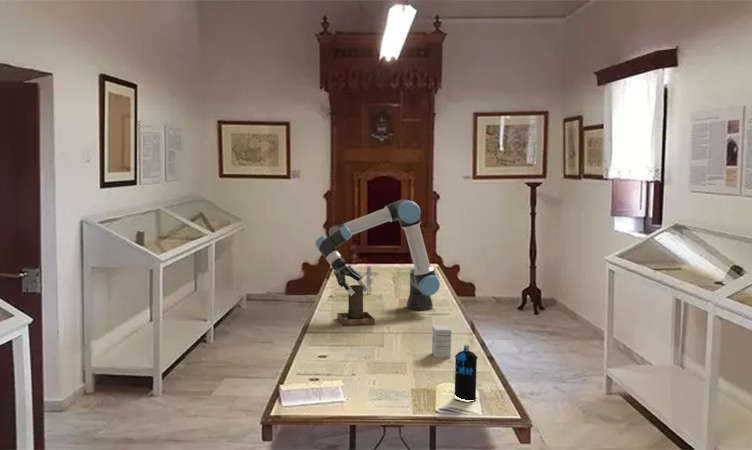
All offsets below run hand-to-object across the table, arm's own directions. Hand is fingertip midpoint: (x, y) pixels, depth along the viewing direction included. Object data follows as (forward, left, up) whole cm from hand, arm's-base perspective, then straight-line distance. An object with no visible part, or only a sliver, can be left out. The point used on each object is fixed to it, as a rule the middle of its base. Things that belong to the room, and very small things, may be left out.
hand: (359, 292), depth 379 cm
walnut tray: (+2, -2, -16) cm, 16 cm away
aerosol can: (-12, +122, -16) cm, 124 cm away
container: (+2, -2, -15) cm, 16 cm away
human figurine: (-22, -70, -16) cm, 75 cm away
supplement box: (-22, +67, -16) cm, 73 cm away
